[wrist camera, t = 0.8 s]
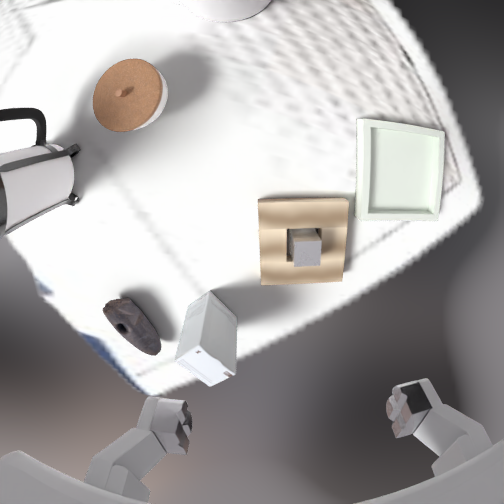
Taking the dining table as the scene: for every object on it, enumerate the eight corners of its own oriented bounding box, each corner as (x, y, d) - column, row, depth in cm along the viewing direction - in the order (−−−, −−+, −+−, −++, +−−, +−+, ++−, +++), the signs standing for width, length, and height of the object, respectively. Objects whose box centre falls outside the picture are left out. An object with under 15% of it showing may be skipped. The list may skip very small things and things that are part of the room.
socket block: (257, 199, 43) (258, 203, 41) (344, 197, 42) (348, 201, 40) (260, 278, 48) (261, 285, 46) (338, 274, 48) (342, 281, 46)
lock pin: (289, 228, 45) (294, 241, 39) (313, 227, 45) (321, 240, 39) (289, 250, 46) (294, 266, 41) (312, 249, 46) (320, 265, 41)
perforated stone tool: (171, 339, 55) (163, 362, 49) (153, 346, 56) (144, 368, 50) (127, 285, 50) (113, 305, 43) (111, 294, 51) (96, 314, 44)
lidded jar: (131, 63, 33) (104, 50, 25) (187, 78, 35) (170, 64, 26) (107, 121, 37) (76, 121, 29) (160, 139, 39) (137, 142, 30)
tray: (356, 119, 37) (363, 118, 34) (435, 130, 37) (444, 131, 34) (354, 215, 44) (360, 220, 41) (429, 216, 43) (437, 221, 40)
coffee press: (104, 177, 41) (-34, 243, 14) (56, 224, 45) (-50, 302, 17) (64, 105, 35) (-72, 116, 8) (21, 159, 39) (-91, 201, 11)
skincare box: (188, 304, 51) (169, 359, 37) (211, 288, 49) (197, 343, 36) (217, 332, 54) (208, 389, 40) (240, 318, 52) (236, 376, 38)
